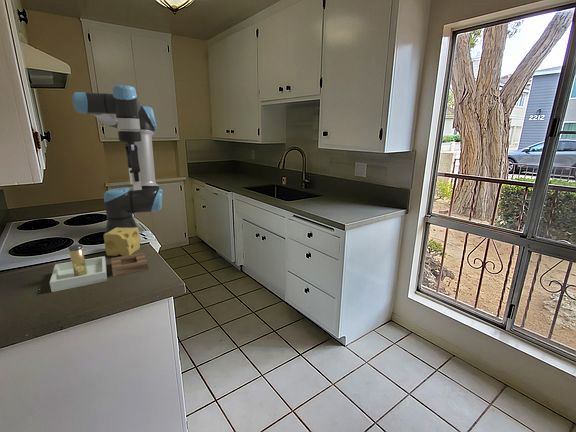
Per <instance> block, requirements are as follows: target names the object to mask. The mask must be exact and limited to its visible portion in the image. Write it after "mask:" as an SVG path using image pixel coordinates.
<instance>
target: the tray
mask: <svg viewBox="0 0 576 432" xmlns="http://www.w3.org/2000/svg"><path fill="white" fill-rule="evenodd" d="M85 263H86V268H87V274H86V275H82V276H76V277H75V276H74V271H73V267H72V262H71V261H69V262H68V261H67V262H63V263H61V262H60V263H56V264H55V265H54V267H53V270H52V275H51V276H50V280H49V287H50V290H51V293H54V292H59V291H64V290H69V289H74V288H79V287H84V286H89V285H95V284H99V283H104V282H108V277H107V276H108V274H107V260H106V256H105V255H104V256H103V255H102V256H98V257H92V258H87V259H86V258H85Z"/></svg>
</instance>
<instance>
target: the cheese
mask: <svg viewBox="0 0 576 432" xmlns="http://www.w3.org/2000/svg"><path fill="white" fill-rule="evenodd" d="M103 240H104V241H103V242H104V247H105V253H106V256H109V257H115V256H117V257H118V256H120V257H122V256H128V255H134V254H135V252H137V251H138V250H139V249H141V236H140V231H139V226H138V227H134V228H114V229H113V230H111V231H109V232H108V233H106V234H105V233H104V234H103ZM133 253H134V254H133Z"/></svg>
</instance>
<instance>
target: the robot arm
mask: <svg viewBox="0 0 576 432" xmlns="http://www.w3.org/2000/svg"><path fill="white" fill-rule="evenodd" d="M72 104H73V108H74V110H75V111H76V112H77V113H78V114H84V115H86V114H90V115H93V116H94V117H96V119H99V121H100V123H102V124H103V125H106V126H108V127H111V128H114V129H117V130H119V131H118V132H117V134H118V135H117V136H118V141H119V142H123V143H124V142H125V146H124V148H125V149H124V150H125V154H126V157H127V158H126V159H127V166H128V175H129V182H130V185H132V188H133V190H132V189H130V187H128V186H127V187H126V186H125V187H124V186H123V187H117V188H111V189H108V190H106V191H105V192H104V193H103V202H104V209H105V215H106V219H107V220H106V225H105V230H104V234H106V233H108V232H109V231H111V230H113V229H114V228H134V227H138V228H139V226H138V225H137V222H136V221H135V218H134V216H133V214H136V213H137V214H139V213H156V212H159V211H161V210H162V206H163V205H162V204H163V189H162V188H160V185H159V184H158V183H157V182H156V173H155V171H156V170H155V160H154V150H153V149H154V148H153V138H152V137H153V136H154V135H155V131H157V130H158V125H157V122H156V117H155V112H154V109H153V108H152V107H151V106H145V105H141V102H140V100H139V99H138V95H137V91H136V88H135V87H134V86H131V85H121V84H120V85H119V84H118V85H116V84H115V85H113V86H112V93H106V92H105V93H103V92H89V91H88V92H87V91H82V92H81V91H75V92H74V93H73V94H72Z"/></svg>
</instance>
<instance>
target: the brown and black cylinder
mask: <svg viewBox="0 0 576 432" xmlns="http://www.w3.org/2000/svg"><path fill="white" fill-rule="evenodd" d="M68 251H69V252H68V253H69V257H70V262H72V267H73V271H74V276H75V277H76V276H82V275H86V274H87V268H86V263H85V259H86V258H85V253H84V249H83V244H80V243H79V244H71V245H70V246H68Z"/></svg>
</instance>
